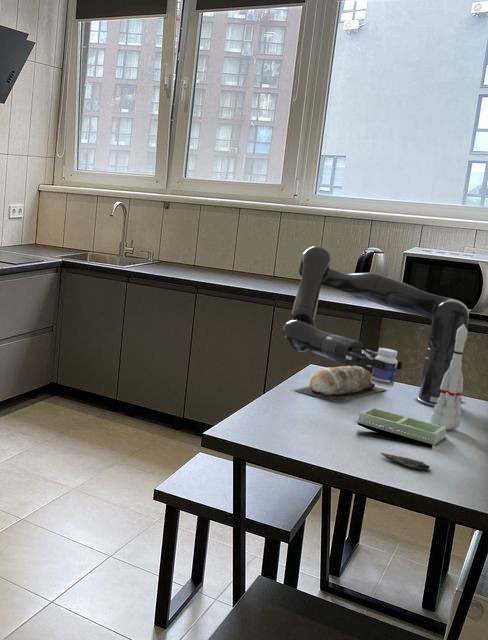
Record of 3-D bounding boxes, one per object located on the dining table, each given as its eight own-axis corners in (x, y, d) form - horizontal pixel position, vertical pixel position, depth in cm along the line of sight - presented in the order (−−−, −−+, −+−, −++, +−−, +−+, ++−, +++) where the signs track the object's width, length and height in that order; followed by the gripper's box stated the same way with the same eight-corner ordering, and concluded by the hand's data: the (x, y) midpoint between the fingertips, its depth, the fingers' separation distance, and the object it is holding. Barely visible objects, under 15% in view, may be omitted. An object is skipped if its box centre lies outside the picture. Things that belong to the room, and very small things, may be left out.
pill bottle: (396, 388, 203) (402, 353, 201) (373, 385, 204) (380, 350, 203) (389, 383, 209) (395, 348, 207) (367, 380, 210) (373, 346, 208)
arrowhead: (378, 456, 181) (379, 450, 181) (422, 463, 179) (423, 457, 178) (386, 467, 174) (387, 461, 174) (432, 474, 172) (433, 468, 172)
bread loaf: (332, 377, 258) (335, 351, 257) (387, 388, 246) (390, 361, 245) (292, 397, 233) (294, 368, 232) (351, 410, 221) (354, 380, 220)
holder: (370, 416, 214) (371, 406, 213) (444, 437, 200) (446, 427, 200) (358, 422, 206) (359, 412, 206) (434, 445, 193) (436, 434, 193)
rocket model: (426, 421, 214) (445, 319, 209) (455, 426, 211) (475, 323, 207) (432, 429, 207) (452, 324, 202) (462, 434, 205) (483, 328, 200)
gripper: (356, 361, 222) (408, 378, 207) (322, 362, 216) (373, 380, 201) (361, 337, 221) (413, 352, 206) (327, 337, 214) (378, 353, 199)
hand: (393, 366), depth 203 cm, fingers closed on pill bottle, 5 cm apart
